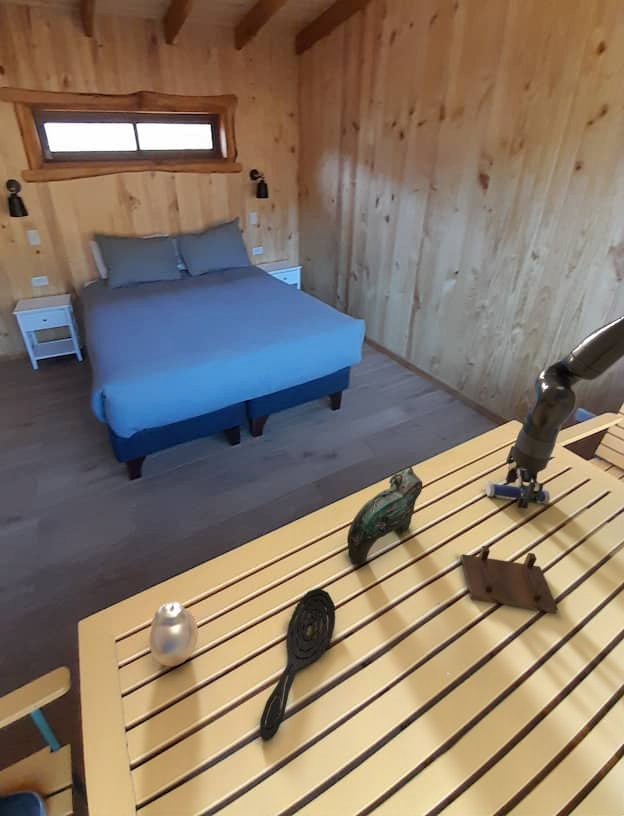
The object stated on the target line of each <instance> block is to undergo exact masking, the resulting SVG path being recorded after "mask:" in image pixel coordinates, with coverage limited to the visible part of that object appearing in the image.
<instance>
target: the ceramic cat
mask: <svg viewBox="0 0 624 816" xmlns="http://www.w3.org/2000/svg"><path fill="white" fill-rule="evenodd" d="M388 483H389V484H390V486H389V488H386V489H384V490H382V491H380V492H379V493H377V494H376V495H375V496H373V497H372V498H371V499H369V500H368V501H367V502H366V503H365V504H364V505H362V507H361V508H360V509H359V511H358V512H357V514H355V516H354V518H353V520H352V522H351V524H350V526H349V529H348V531H347V538H346V541H347V550H348V558H349V559H350V560H351V561H352V562H353V563H354V564H355V565H356V566H358V565H360V564H362V563H363V562H365V560H366V559H367V557H368V554H369V552H370V550H371V548H372V547H373V545H374V544H375V543H376V542H377V541H378V540H379V539H381V538H383V537H385V536H387V535H388V534H390V533H393V532H394V531H396V532H397V533H398V534H399V535H402V534H403V533H404V532H405V531H407V530H409V528H410V525H411V523H412V519H413V515H414V512H415V506H416V502H417V499H418V498H419V496H420V495H421V494H422V490H423V481H422V479H421V478H420V477H419V476H418V475H417V474H416V473H415V472H414V470H413V467H412V466H409V468H408V469H404V470H401V471H400V472H399V473H396V474H395V473H394V475H392V476H391V477H390V479H389V482H388Z"/></svg>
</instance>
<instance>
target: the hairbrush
mask: <svg viewBox="0 0 624 816" xmlns="http://www.w3.org/2000/svg"><path fill="white" fill-rule="evenodd" d="M335 625H336V606H335V603H334V601H333V599H332V596H331V595H330V593H329V592H328V591H326V590H324V589H321V588H320V587H317V588H314V589H310V590H309V591H308V590H307V592H306V593H304V596H302V597H301V599H300V600H299V602H298V603H297V604H296V606H294V611H292V614H291V618H290V620H289V622H288V626H287V633H286V640H285V641H286V642H285V644H286V655H287V661H286V662H287V663H286V667H285V669H283V673H282V674H281V676H280V678H279V680H278V683H277V684H276V686H275V687H274V689H273V691H272V692H271V694H270V695H269V697H268V698H267V700H266V702H265V705H264V708H263V710H262V714H261V717H260V720H259V721H260V724H259V726H260V729H259V730H260V737H261V739H263V740H265V741H269V740H270V739H272V738H273V737H274V736H275V735H276V734H277V732H278V730H279V728H280V726H281V724H282V721H283V719H284V717H285V713H286V709H287V704H288V700H289V699H288V698H289V694H290V690H291V688H292V685H293V683H294V680H295V677H296V674H297V673H298V672H300V670H302V669H303V668H305V667H307V666H309V665H311V664H313V663H315V662H317V660H318V659H320V658H321V656H322V655H323V654H324V653H325V652H326V650H327V649H328V646H329V645H330V643H331V640H332V638H333V633H334V630H335ZM310 626H311V631H309V632H308V628H309V627H310ZM308 633H309V634H308Z"/></svg>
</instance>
